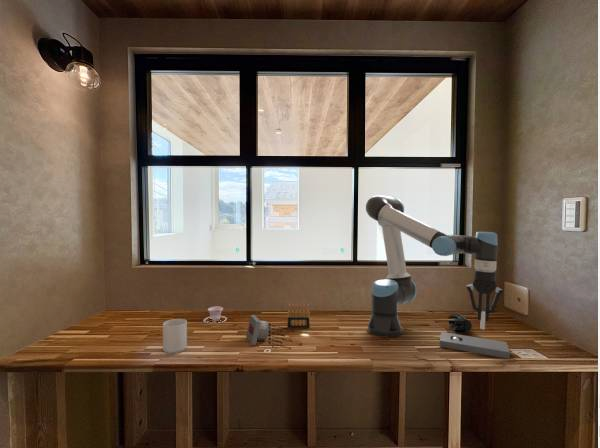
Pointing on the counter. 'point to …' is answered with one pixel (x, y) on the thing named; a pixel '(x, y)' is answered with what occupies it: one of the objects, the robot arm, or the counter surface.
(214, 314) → the teacup
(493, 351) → the hole plate
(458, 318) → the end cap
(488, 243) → the robot arm
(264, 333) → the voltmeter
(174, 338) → the mug
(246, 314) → the counter surface
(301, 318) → the ammunition clip
